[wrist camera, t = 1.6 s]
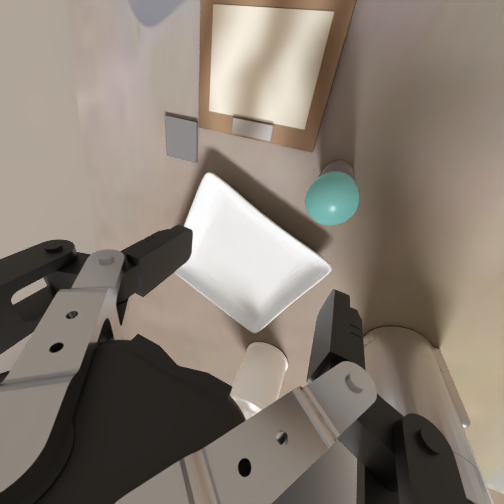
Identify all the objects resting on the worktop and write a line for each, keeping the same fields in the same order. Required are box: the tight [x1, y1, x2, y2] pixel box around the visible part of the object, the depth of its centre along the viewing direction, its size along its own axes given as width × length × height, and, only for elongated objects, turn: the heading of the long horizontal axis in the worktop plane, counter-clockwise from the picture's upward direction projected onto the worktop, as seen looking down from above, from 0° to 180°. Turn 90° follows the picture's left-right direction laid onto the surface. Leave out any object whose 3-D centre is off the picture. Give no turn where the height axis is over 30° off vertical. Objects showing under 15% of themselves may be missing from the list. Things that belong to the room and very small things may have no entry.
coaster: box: [165, 116, 198, 163], centre depth 30 cm, size 5×5×1 cm
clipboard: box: [199, 0, 356, 152], centre depth 22 cm, size 15×13×1 cm
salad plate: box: [174, 172, 332, 333], centre depth 35 cm, size 21×21×3 cm
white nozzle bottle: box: [230, 342, 288, 420], centre depth 38 cm, size 10×9×20 cm
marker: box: [305, 160, 359, 226], centre depth 20 cm, size 4×4×11 cm
